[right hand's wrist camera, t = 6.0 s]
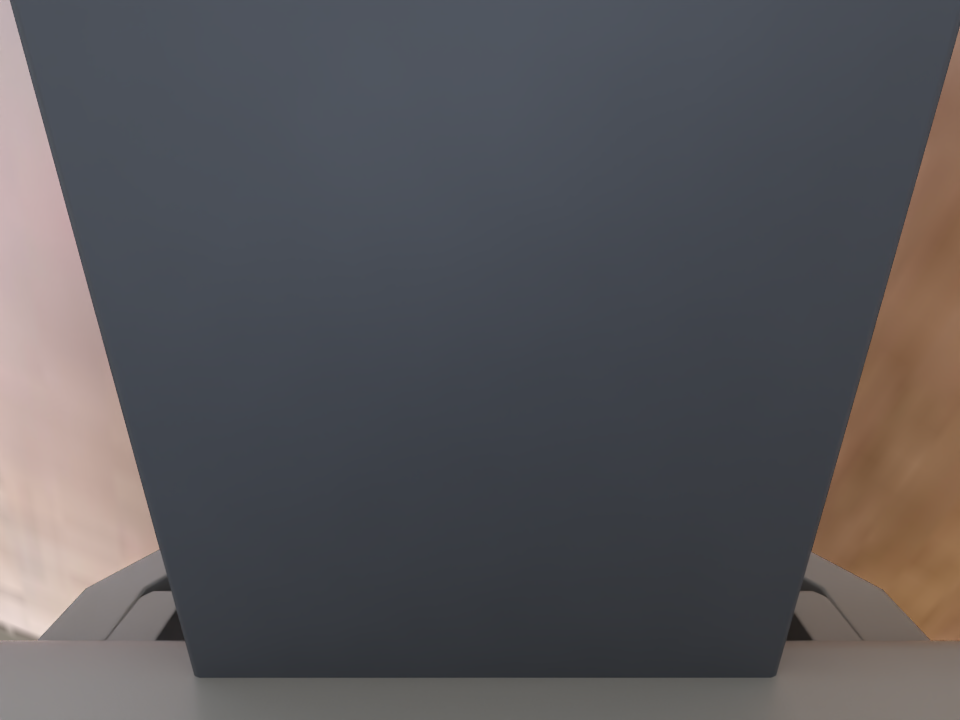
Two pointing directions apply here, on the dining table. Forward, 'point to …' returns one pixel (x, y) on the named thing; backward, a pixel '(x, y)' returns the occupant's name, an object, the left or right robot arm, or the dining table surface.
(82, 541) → the dining table surface
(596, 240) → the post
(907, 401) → the dining table surface
